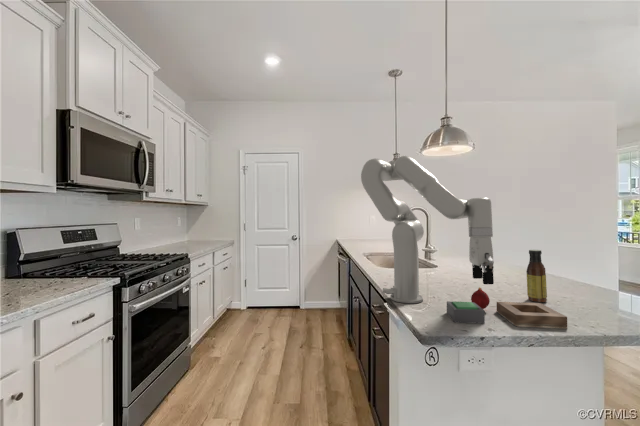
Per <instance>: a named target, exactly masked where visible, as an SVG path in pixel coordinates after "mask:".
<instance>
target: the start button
mask: <svg viewBox="0 0 640 426" xmlns="http://www.w3.org/2000/svg"><path fill="white" fill-rule="evenodd" d="M451 302H452V304H453V305H454V306H455V308H456V309H478V307H476V306H475V305H474V304H473V303H472V301H453V300H452V301H451Z"/></svg>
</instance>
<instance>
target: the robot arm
mask: <svg viewBox="0 0 640 426" xmlns="http://www.w3.org/2000/svg"><path fill="white" fill-rule="evenodd" d="M360 181H361V183H362V187H363V188H364V190H365V192H366V193H367V195H368V196H369V198H370V199H371V201H372V203H373V205H374V206H375V207H376V209H377V211H378V212H379V214H380V216H381V217H382V218H383V219H384V220H385V221H386V222H390V223H394V226H393V229H392V232H391V233H392V234H391V237H392V238H391V239H392V245H393V247H392V248H393V272H394V273H393V275H394V276H393V279H394V280H393V281H394V282H393V283H394V285H392V287H390V288H387V287H385V288H382V294H386V295H390V299H391V300H392V301H393V302H397V303H401V304H418V303H421V302H423V301H424V297H423V295H421V294H420V282H419V281H420V277H419V273H420V272H419V268H420V267H419V266H420V265H419V247H418V242H419V241H420V240H421V239H422V238H423V236H424V232H425V230H424V226H423V224H422V223H421V221H420V220H419V219H418V217H417V216H416V214H415V213H414V211H413V210H412V208H411V207H410V206H409V205H408V204H407V202H405V201H403V200H401V199H398V198H396V197H395V195H394V194H393V193H392V192H391V190H390V188H389V187H388V186H387V184H386V183H384V182H389V181H391V182H392V181H404V182H405V183H407V184H408V185H409V186H410V187H412V189H414V190H415V191H416V192H417V193H418V194H419V195H420V196H421V197H422V198H424V199H425V200H426V201H427V203H428V204H430V205H431V206H432V207H433V208H434V209H435V210H437V211H438V212H439V213H441V215H443V216H444V217H445V218H447V219H449V220H460V219H466V218H467V224H468V225H467V226H468V237H469V245H468V246H469V250H468V251H469V256H468V257H469V262H470V263H471V267H472V278H473V279H475V280H476V279H482V283H483V284H484V285H494V281H495V280H494V268H495V267H494V262H495V261H494V252H493V243H492V238H493V237H494V236H493V234H494V233H493V232H494V231H493V211H492V201H491V199H490V198H489V197H474V198H469V199H463V198H459V197H456V196H455V195H454V194H453V193H452V192H450V191H449V190H448V189H447V188H445V187H444V186H443V185H442V184H441V183H440V182H439V180H438V179H437V177H436V176H435V175H434V174H433V173H431V172H430V171H429V170H427V169H426V168H424V166H422V165H421V164H420V163H419V162H418V161H417V160H416V159H414V158H413V157H411V156H408V155H402V156H399V157H397V158H396V159H395V160H394V161H386V160H383V159H380V158H370V159H369V160H367V161H366V162H365V163H364V165H363V167H362V170H361V173H360Z"/></svg>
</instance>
